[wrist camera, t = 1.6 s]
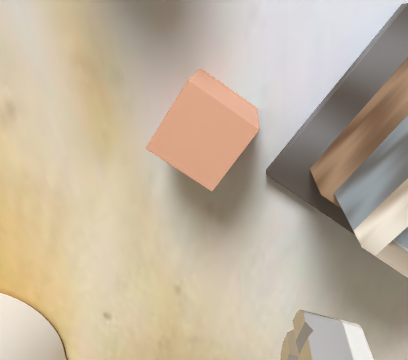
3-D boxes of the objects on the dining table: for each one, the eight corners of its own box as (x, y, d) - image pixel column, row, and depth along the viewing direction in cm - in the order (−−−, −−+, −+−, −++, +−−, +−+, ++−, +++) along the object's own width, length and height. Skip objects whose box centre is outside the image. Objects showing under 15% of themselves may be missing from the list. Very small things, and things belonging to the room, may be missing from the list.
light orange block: (218, 159, 28) (211, 191, 23) (165, 124, 28) (145, 148, 22) (257, 107, 26) (259, 129, 21) (200, 68, 26) (188, 79, 20)
